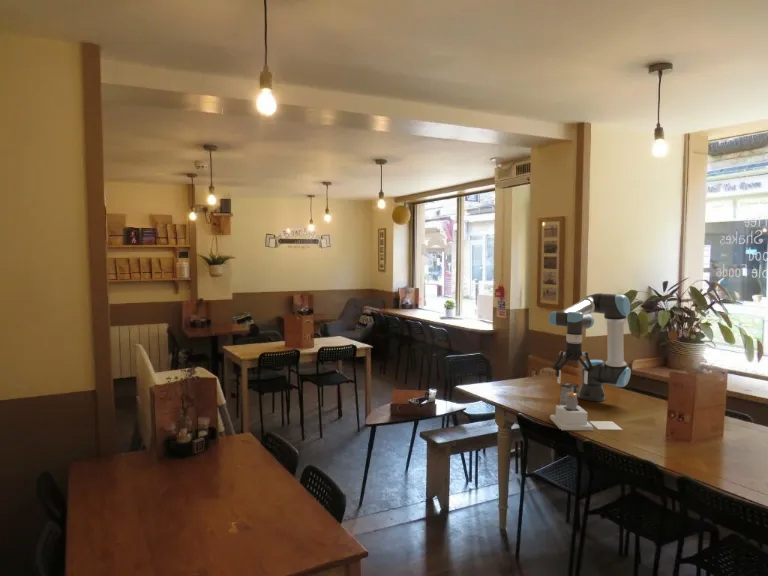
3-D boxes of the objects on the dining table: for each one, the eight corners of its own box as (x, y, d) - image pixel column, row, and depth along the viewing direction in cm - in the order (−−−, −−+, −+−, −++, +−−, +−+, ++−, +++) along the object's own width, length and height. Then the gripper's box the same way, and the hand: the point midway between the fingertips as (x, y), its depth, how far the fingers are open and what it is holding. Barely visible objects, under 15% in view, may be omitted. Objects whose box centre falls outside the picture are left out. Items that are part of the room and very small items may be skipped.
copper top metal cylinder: (564, 418, 272) (565, 392, 271) (574, 418, 272) (575, 392, 271) (567, 421, 267) (568, 394, 266) (577, 422, 267) (578, 395, 266)
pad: (589, 421, 274) (589, 421, 274) (612, 422, 274) (612, 421, 274) (598, 429, 262) (598, 429, 262) (622, 430, 262) (622, 429, 262)
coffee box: (566, 410, 293) (568, 381, 292) (578, 412, 289) (579, 384, 288) (559, 413, 287) (560, 384, 286) (570, 416, 283) (571, 387, 281)
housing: (549, 418, 279) (550, 403, 279) (580, 418, 279) (580, 403, 278) (560, 430, 261) (561, 414, 261) (593, 430, 261) (593, 414, 260)
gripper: (551, 343, 263) (549, 384, 265) (601, 344, 263) (599, 385, 264) (547, 340, 271) (545, 381, 272) (595, 341, 270) (593, 382, 272)
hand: (572, 383), depth 268 cm, fingers open, 13 cm apart
